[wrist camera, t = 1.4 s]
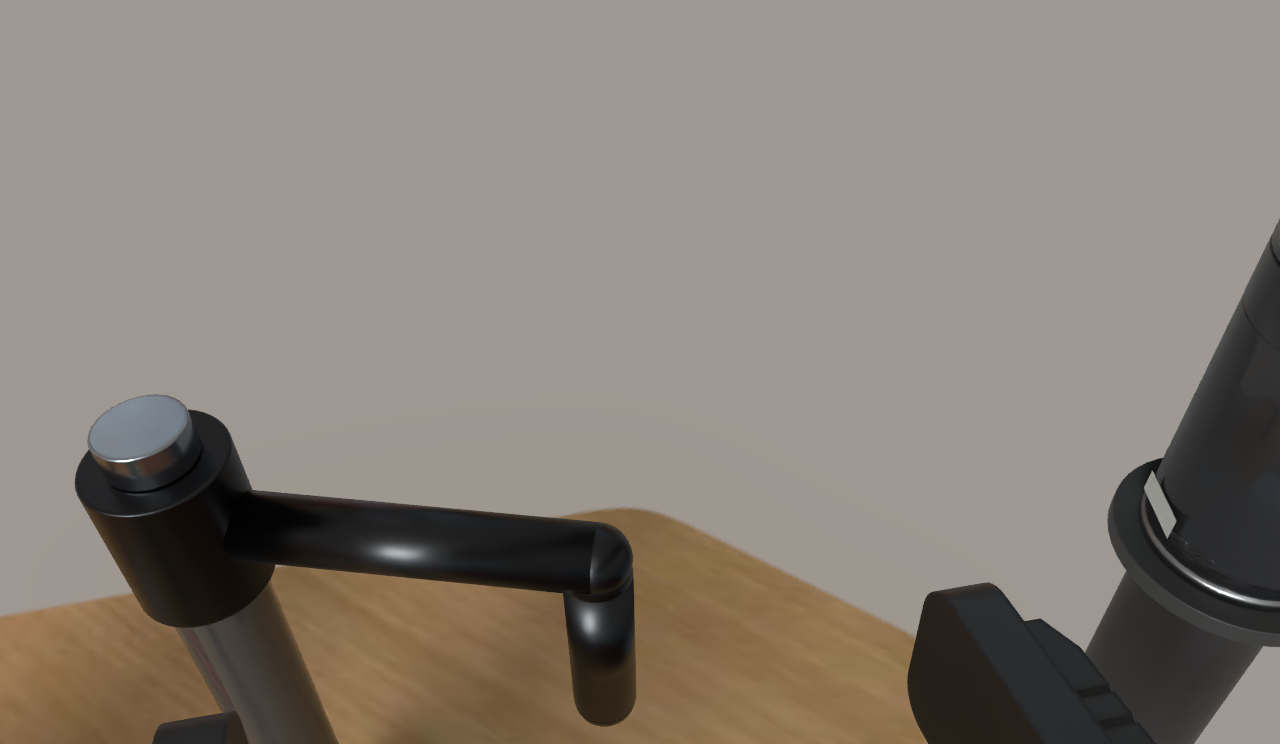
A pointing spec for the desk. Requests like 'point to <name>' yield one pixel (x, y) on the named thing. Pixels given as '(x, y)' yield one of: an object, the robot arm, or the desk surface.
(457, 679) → the desk surface
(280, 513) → the spout
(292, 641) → the faucet base
